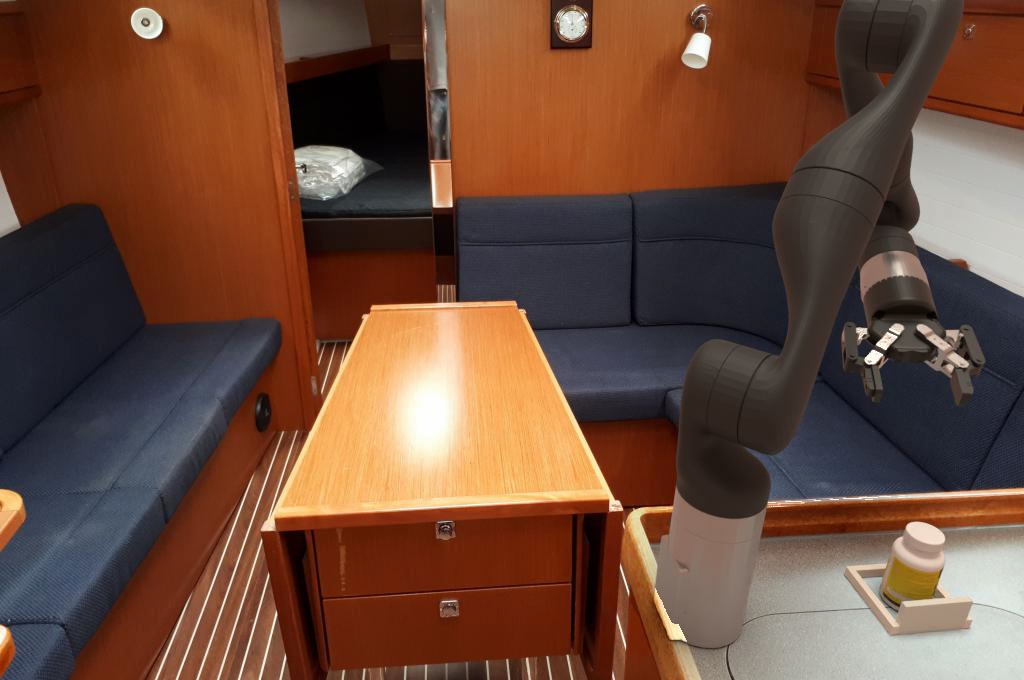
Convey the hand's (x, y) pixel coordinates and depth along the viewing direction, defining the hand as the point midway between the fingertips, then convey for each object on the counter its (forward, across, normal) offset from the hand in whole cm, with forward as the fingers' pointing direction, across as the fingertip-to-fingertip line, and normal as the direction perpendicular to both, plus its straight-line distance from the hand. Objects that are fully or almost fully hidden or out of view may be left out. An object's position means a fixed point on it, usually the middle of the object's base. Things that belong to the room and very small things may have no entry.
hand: (920, 399), depth 81 cm
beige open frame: (+14, +1, +20) cm, 25 cm away
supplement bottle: (+14, +1, +20) cm, 25 cm away
